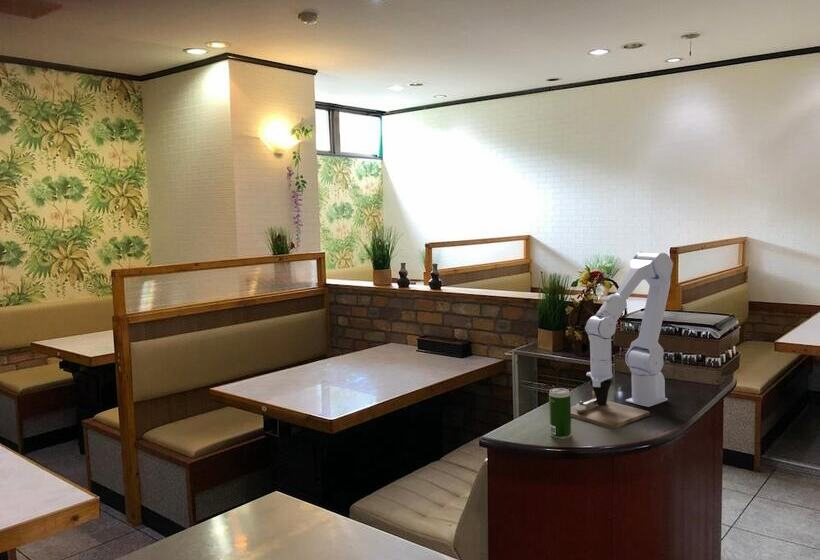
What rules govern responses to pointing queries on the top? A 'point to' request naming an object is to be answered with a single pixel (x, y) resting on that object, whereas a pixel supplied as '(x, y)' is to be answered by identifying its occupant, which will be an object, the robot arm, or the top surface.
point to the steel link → (586, 405)
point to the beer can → (560, 413)
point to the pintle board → (610, 414)
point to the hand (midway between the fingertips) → (601, 405)
